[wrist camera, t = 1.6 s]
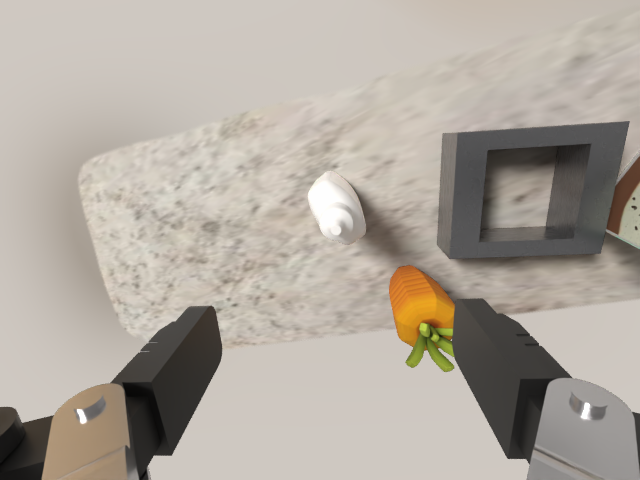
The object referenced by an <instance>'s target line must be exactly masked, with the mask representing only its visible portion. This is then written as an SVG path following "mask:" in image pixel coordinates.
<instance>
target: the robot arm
mask: <svg viewBox="0 0 640 480" xmlns="http://www.w3.org/2000/svg"><path fill="white" fill-rule="evenodd" d="M452 348H453V354H454V357H455V360H456V362H457V364H458V366H459V368H460V370H461V372H462V374H463V375H464V377H465V379H466V381H467V383H468V385H469V386H470V389H471V391H472V392H473V394H474V396H475V398H476V400H477V402H478V403H479V406H480V408H481V409H482V411H483V413H484V415H485V417H486V419H487V421H488V423H489V425H490V426H491V428H492V430H493V432H494V434H495V436H496V438H497V440H498V442H499V443H500V445H501V447H502V449H503V451H504V453H505V455H506V456H507V458H508V459H527V461H528V463H529V464H530V466H529V471H528V475H527V480H640V414H639V413H635V412H631V410H630V409H629V408H628V406H627V405H626V404H625V403H624V402H623V401H622V400H621V399H619V398H618V397H617V396H615V395H614V394H612V393H611V392H609V391H607V390H606V389H604V388H602V387H600V386H597V385H595V384H592V383H590V382H586V381H583V380H579V379H573V378H572V377H571V376H570V375H569V374H568V373H567V372H566V371H565V370H564V369H563V368H562V367H561V366H560V365H559V364H558V363H557V361H556V360H555V359H554V358H553V357H552V356H551V355H550V354H549V353H548V352H547V351H546V350H545V349H544V348H543V347H542V346H539V343H538V342H537V341H536V340H535V339H534V338H533V337H532V336H530V334H529V333H528V332H527V331H526V330H525V329H524V328H523V327H522V326H521V325H520V324H519V323H518V322H516V321H515V320H513V319H511V318H509V317H508V316H506V315H504V314H497V313H496V312H495V311H494V310H493V309H492V308H491V307H490V305H489V304H488V303H487V302H486V301H485V300H484V299H457V301H456V303H455V309H454V322H453V335H452ZM221 356H222V343H221V337H220V332H219V327H218V321H217V316H216V311H215V309H214V307H213V306H191V307H188V308H187V309H186V310H185V311H184V313H183V314H182V315H181V316H180V317H179V318H178V319H177V321H176V322H172V323H170V324H168V325H167V326H165V327H164V328H162V329H161V330H159V331H158V332H157V333H156V334H155V335H154V336H153V337H152V338H151V340H150V341H149V344H146V345H145V346H144V347H143V348H142V349H141V352H140V353H138V354H137V355H136V356H135V357H134V358H133V359H132V360H131V361H130V362H129V363H128V364H127V365H126V367H125V368H124V369H123V370H122V371H121V372H120V373H119V374H118V375H117V376H116V378H114V380H113V381H112V382H111V383H108V384H101V385H97V386H94V387H91V388H89V389H86V390H84V391H82V392H80V393H78V394H77V395H75V396H73V397H72V398H70V399H69V400H68V401H67V402H66V403H64V404H63V405H62V406H61V407H60V408H59V409H58V410H57V412H56V413H55V415H53V416H50V417H46V418H41V419H37V420H33V421H29V422H25V423H22V422H21V420H20V418H19V415H18V413H17V411H16V410H15V409H14V408H12V407H0V480H151V477H150V472H149V469H148V465H149V463H150V461H151V459H152V458H153V456H154V455H161V456H162V455H163V456H164V455H165V456H167V455H168V456H171V455H172V454H173V452H174V450H175V448H176V446H177V444H178V442H179V440H180V439H181V437H182V435H183V433H184V431H185V429H186V427H187V425H188V423H189V421H190V419H191V418H192V415H193V414H194V412H195V410H196V408H197V406H198V404H199V402H200V400H201V398H202V396H203V395H204V393H205V391H206V389H207V387H208V385H209V383H210V381H211V379H212V377H213V375H214V373H215V372H216V370H217V368H218V366H219V363H220V361H221Z"/></svg>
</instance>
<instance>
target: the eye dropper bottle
mask: <svg viewBox="0 0 640 480" xmlns="http://www.w3.org/2000/svg"><path fill="white" fill-rule="evenodd" d="M308 201H309V205H310V208H311V211H312V213H313V215H314V217H315V219H316V221H317V222H318V224H319V225H320V229H321V232H322V234H323V235H324V236H326V237H327V238H328V239H330V240H333V241H334V240H335V241H338V242H340V243H342V244H345V245H350V244H352V243H354V242H356V241H357V240H358V239H360V238H361V237H362V236H364V234H365V233H366V223H365V219H364V215H363V211H362V207H361V204H360V201H359V199H358V196H357V194H356V193H355V191H354V189H353V188H352V187H351V185H350V184H349V183H348V182H347V181H346V180H345V179H344V178H342V177H341V176H340V175H338V174H337V173H335V172H333V171H328V172H326V173H324V174H323V175H322V176H321V177H319V178H318V179H317V180H316V181H315V182H314V184H313V186H312V187H311V189H310V191H309V193H308Z"/></svg>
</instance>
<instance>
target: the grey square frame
mask: <svg viewBox="0 0 640 480" xmlns="http://www.w3.org/2000/svg"><path fill="white" fill-rule="evenodd" d="M629 122H630V121H626V122H609V123H591V124H577V125H562V126H547V127H532V128H517V129H503V130H488V131H473V132H458V133H443V138H442V157H441V177H440V197H439V217H438V236H437V245H438V246H439V248H440V249H441V250H442V251H443V252H444V253H445V254H446V255H447V257H448V258H449V259H458V258H487V257H516V256H545V255H574V254H601V250H602V245H603V241H604V236H605V232H606V227H607V222H608V218H609V213H610V209H611V204H612V200H613V195H614V190H615V186H616V181H617V177H618V172H619V168H620V163H621V159H622V154H623V149H624V145H625V140H626V136H627V131H628V127H629ZM544 146H558V153H557V159H556V165H555V172H554V178H553V184H552V190H551V197H550V203H549V209H548V216H547V222H546V226H545V227H521V228H497V229H480V227H481V216H482V205H483V195H484V184H485V173H486V162H487V152H488V150H496V149H512V148H528V147H544Z"/></svg>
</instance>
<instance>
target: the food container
mask: <svg viewBox="0 0 640 480" xmlns="http://www.w3.org/2000/svg"><path fill="white" fill-rule="evenodd" d="M606 232H607V233H609V234H611V235H613V236H615V237H617V238H619V239H621V240H623V241H625V242H627V243H628V244H630V245H632V246H634V247H636V248H638V249H640V151H639V152H638V153H637V154H636V156H635V157H634V158H633V159H632V161H631V162H630V163H629V164H628V166H627V167H626V168H625V170H624V171H623V172H622V173H621V175H620V176H619V177H618V178H617V181H616V186H615V190H614V195H613V200H612V204H611V209H610V213H609V218H608V222H607V227H606Z"/></svg>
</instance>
